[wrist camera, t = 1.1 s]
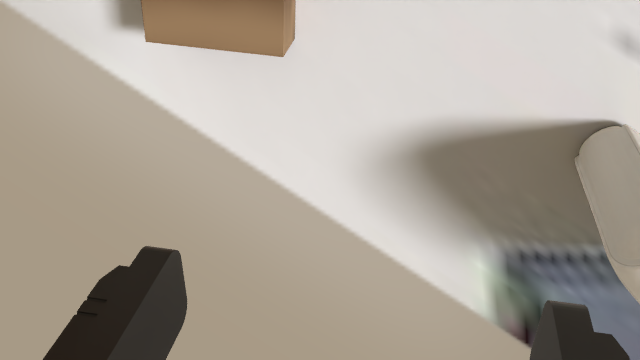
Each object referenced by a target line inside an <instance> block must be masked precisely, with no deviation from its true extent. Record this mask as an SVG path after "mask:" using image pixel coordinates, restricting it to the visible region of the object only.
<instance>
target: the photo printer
mask: <svg viewBox="0 0 640 360" xmlns="http://www.w3.org/2000/svg"><path fill="white" fill-rule="evenodd" d="M575 165H576V168H577V172H578V174H579V177H580V180H581V183H582V185H583V188H584V191H585V194H586V197H587V199H588V202H589V205H590V208H591V211H592V214H593V217H594V219H595V222H596V225H597V228H598V231H599V234H600V237H601V240H602V243H603V246H604V249H605V251H606V254H607V257H608V259H609V261H610V263H611V265H612V267H613V268H614V270H615V273H616V274H617V276H618V278H619V279H620V281H621V282H622V283H623V284H624V286H625V287H626V288H627V290H628V291H629V292H630V293H631V294H632V296H633V297H634V298H635V299H636V300H637V301H638V303H639V304H640V134H639V133H638V132H637V131H635V130H634V129H633V128H631V127H629V126H628V125H626V124H625V125H623V126H622V127H619V126H612V127H608V128H604V129H602V130H600V131H597V132H596V133H594V134H593V135H591V136H590V137H589V138H588V139H587V140H586V141H585V142H584V143H583V145H582V146H581V148H580V151H579V155H578V156H577V157H575Z"/></svg>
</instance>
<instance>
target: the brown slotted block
mask: <svg viewBox="0 0 640 360" xmlns="http://www.w3.org/2000/svg"><path fill="white" fill-rule="evenodd" d="M141 4H142V13H143V22H144V30H145V39H146V42H152V43H161V44H170V45H179V46H188V47H197V48H206V49H215V50H224V51H233V52H242V53H251V54H260V55H269V56H278V57H283V56H284V55H285V53H286V52H287V50H288V48H289V47H290V45H291V44H292V42H293V40H294V39H295V0H141Z"/></svg>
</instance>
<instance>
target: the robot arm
mask: <svg viewBox="0 0 640 360" xmlns="http://www.w3.org/2000/svg"><path fill="white" fill-rule="evenodd" d="M186 310H187V296H186V289H185V282H184V275H183V268H182V261H181V255H180V253H179V251H178V250H172V249H165V248H157V247H150V246H145V247H143V248H142V249H141V250H140V252H139V253H138V255H137V256H136V258H135V259H134V261H133V262H132V264H131V265H130V267H127V266H120V265H119V266H118V267H116V268H115V269H114V270H112V271H111V272H109V273H108V274H107V275H105V276H104V277H102V278H101V279H100V280H99V281H98V283H97V284H96V285H95V287H94V288H93V290H92V291H91V292H90V294H89V295H88V297H87V300H85V301H84V302H83V304H82V305H81V306H80V308H79V309H78V311H77V315H74V316H73V318H72V319H71V321H70V322H69V323H68V325H67V326H66V328H65V329H64V330H63V332H62V333H61V335H60V336H59V337H58V339H57V340H56V342H55V343H54V345H53V346H52V347H51V349H50V350H49V351H48V353H47V354H46V356H45V357H44V358H43V360H166V358H167V356H168V354H169V352H170V350H171V348H172V346H173V344H174V342H175V340H176V338H177V336H178V334H179V332H180V330H181V328H182V325H183V323H184V320H185V315H186ZM530 360H630V359H629V356H628V355H627V353H626V352H625V351H624V349H623V348H622V347H621V346H620V344H619V343H618V342H617V341H616V339H615V338H614V337H613V336H612V334H605V333H597V332H594V330H593V326H592V322H591V319H590V315H589V311H588V308H587V307H586V306H585V305H581V304H573V303H565V302H558V301H550V300H548V301H547V302H546V303H545V305H544V308H543V312H542V315H541V319H540V322H539V325H538V329H537V332H536V336H535V339H534V342H533V346H532V349H531V354H530Z"/></svg>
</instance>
